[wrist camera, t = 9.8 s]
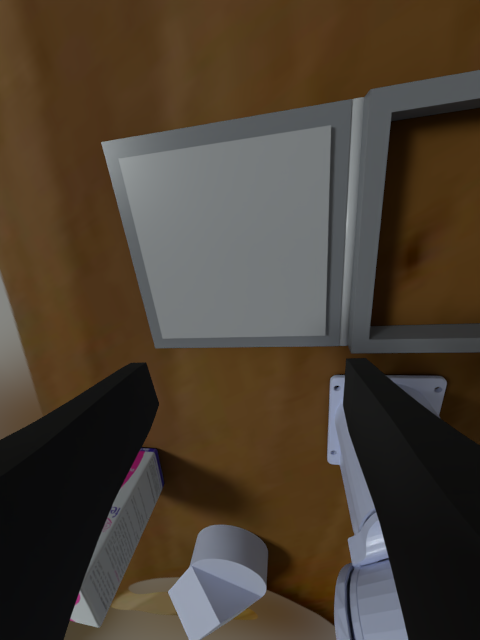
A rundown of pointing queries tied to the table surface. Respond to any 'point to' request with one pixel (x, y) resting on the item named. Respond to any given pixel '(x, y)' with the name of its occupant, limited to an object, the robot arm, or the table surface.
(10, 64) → the table surface
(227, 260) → the case
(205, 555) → the wedge on round base
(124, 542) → the supplement box
